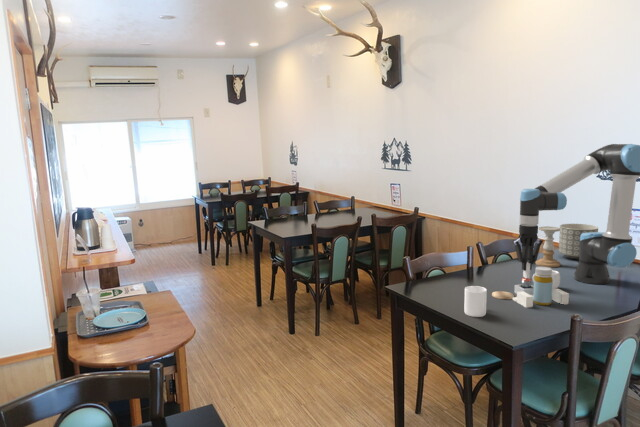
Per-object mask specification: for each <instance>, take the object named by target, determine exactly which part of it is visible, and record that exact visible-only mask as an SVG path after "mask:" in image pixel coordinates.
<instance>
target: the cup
mask: <svg viewBox="0 0 640 427" xmlns="http://www.w3.org/2000/svg"><path fill="white" fill-rule="evenodd" d="M487 290H488V289H487V288H486V287H483V286H479V285H469V286H465V287H464V301H463V302H464V303H463V304H464V306H463V307H464V308H463V309H464V310H463V311H464V314H465V315H467V316H469V317H473V318H483V317H484V316H486V313H487V294H488V292H487Z"/></svg>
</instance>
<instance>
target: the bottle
mask: <svg viewBox="0 0 640 427" xmlns="http://www.w3.org/2000/svg"><path fill="white" fill-rule="evenodd" d="M552 270H553V268H552V267H542V266H536V267H535V273H534V274H535V276H534V282H533V286H534V291H533V304H536V305H538V306H545V305H546V306H550V305H551V304H552V303H553V302H552V301H553V300H552V283H553V280H552V277H551V276H552ZM546 306H545V307H546Z"/></svg>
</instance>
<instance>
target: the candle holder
mask: <svg viewBox="0 0 640 427" xmlns="http://www.w3.org/2000/svg"><path fill="white" fill-rule="evenodd" d="M538 231H541V232H543V233H544V234H545V236H544V237H543V240H544V243H543V247H542V248H543V250H542V252H541V254H543V258H539V259H537V260H536V262H534V264H535V265H536V266H537V267H540V266H542V267H549V268H559V267H561V262H560V261H558V260H557V259H555V258H554V254H555V251H554V250H555V245H554V240H555V238H554V237H553V236H554V234H555V233H556V232H557V233H558V232H560V227H557V226H548V225H547V226H544V225H543V226H540V227H539V226H538Z"/></svg>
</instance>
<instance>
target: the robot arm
mask: <svg viewBox="0 0 640 427" xmlns="http://www.w3.org/2000/svg"><path fill="white" fill-rule="evenodd" d="M604 171H609V175H610V176H611V177H612V186H611V192H610V201H609V207H608V208H609V209H608V217H607V223H606V231H605V232H601V231H600V232H599V231H598V232H588V233H582V234H581V236H580V248H579V260H578V264H577V266H576V268H575V271H574V273H573V279H574V280H576V281H578V282H581V283H586V284H594V285H602V284H603V285H604V284H609V283H610V281H611V276H610V273H609V269H608V266H607V265H609V266H611V267H615V268H618V269H619V268H626V267H629V265H631V264H632V263H633V262H634V261H635V259H636V258H637V252H638V251H637V248H636V247H635V245H634V244H633V243H632V241H633V237H632V235H630V226H631V219H632V213H633V212H632V211H633V204H634V198H635V190H636V182H637V180H638V179H639V178H640V145H639V144H633V143H619V144H617V143H611V144H607V145H604V146H602V147H600V148H597V149H596V150H594V151H592V152H591V153H589V154H587V155H585V156H584V158H583V160H581V161H579V162H578V163H576V164H574V165H573V166H571V167H569V168H567V169H566V170H564V171H562V172H560V173H559V174H557V175H556V176H554V177H552V178H550V179H549V180H547V181H545V182H544V183H542V184H540V185H538V186H535V188H524V189H521V191H520V198H519V200H520V202H519V205H520V206H519V226H518V234H519V235H518V239H516V240H513V241H512V244H513V245H514V248H515V251H516V252H515V253H516V258H517V261H518V262H520V263H521V270H522V271H523V272H522V278H531V271H532V267H533V264H535V262H536V261H537V260H538V256H539V252H540V249H541V245H542V244H543V242H544V241H543V240H542V239H540V238H539V235H538V233H539V213H540V212H541V211H560V210H564V209H565V208H566V207H567V201H568V199H567V196H566V195H565V193H562V192H564V191H565V190H567V189H570V188H571V187H572V186H574V185H576V184H577V183H580V182H581V181H583V180H585V179H586V178H589V177H590V176H592V175H598V174H599V173H601V172H604Z"/></svg>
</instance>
